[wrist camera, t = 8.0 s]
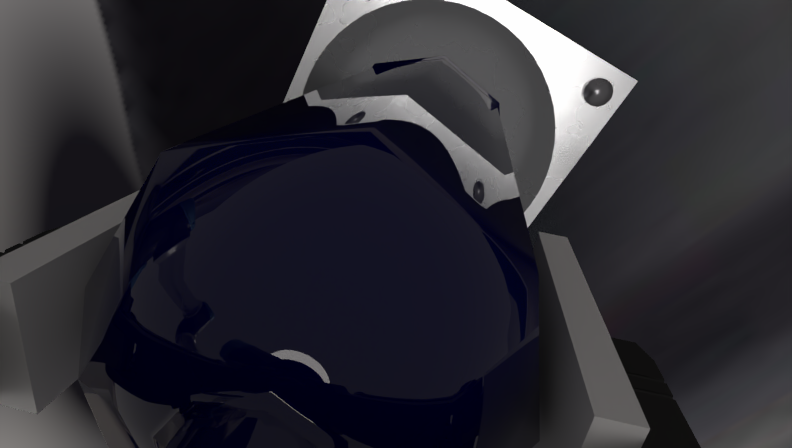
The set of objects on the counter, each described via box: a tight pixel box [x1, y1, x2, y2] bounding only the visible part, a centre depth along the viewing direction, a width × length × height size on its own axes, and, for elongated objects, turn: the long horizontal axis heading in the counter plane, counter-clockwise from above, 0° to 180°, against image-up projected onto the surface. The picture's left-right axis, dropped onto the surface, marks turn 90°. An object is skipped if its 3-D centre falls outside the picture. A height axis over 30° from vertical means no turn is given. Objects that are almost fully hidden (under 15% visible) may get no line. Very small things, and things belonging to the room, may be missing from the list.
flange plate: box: [283, 0, 638, 227], centre depth 27 cm, size 16×16×2 cm
